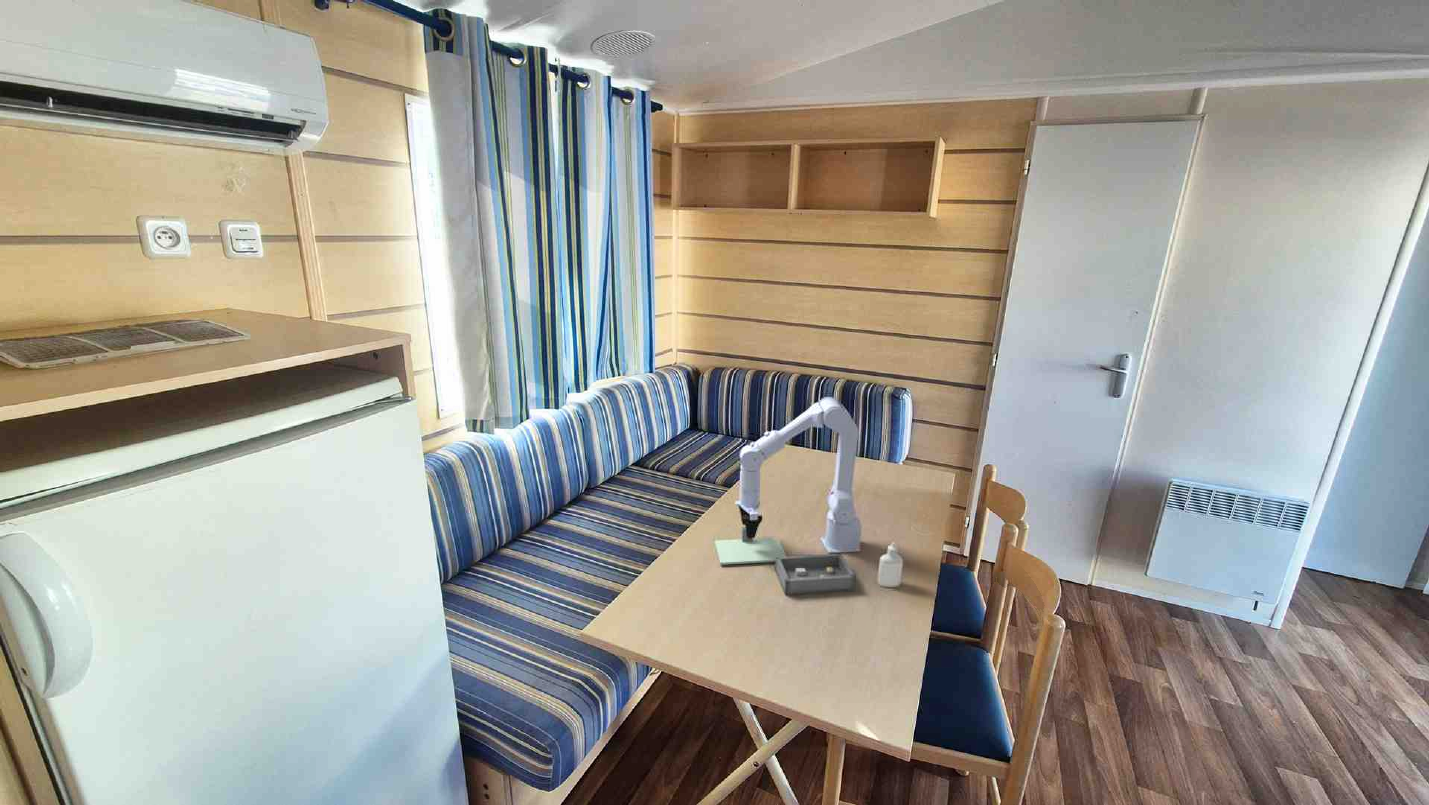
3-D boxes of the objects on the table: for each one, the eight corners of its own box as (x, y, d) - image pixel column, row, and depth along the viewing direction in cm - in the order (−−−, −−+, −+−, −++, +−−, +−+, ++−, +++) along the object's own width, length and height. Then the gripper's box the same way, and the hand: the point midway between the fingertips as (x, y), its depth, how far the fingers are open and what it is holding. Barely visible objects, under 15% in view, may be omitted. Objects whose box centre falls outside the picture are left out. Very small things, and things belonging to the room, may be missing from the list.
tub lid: (777, 540, 169) (778, 525, 167) (787, 562, 158) (788, 546, 156) (714, 544, 166) (715, 528, 165) (720, 566, 155) (720, 549, 154)
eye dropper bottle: (898, 591, 146) (903, 549, 143) (875, 585, 148) (880, 544, 145) (901, 582, 150) (906, 541, 146) (879, 576, 152) (883, 536, 149)
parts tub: (839, 566, 156) (840, 553, 155) (854, 590, 146) (855, 577, 145) (775, 570, 154) (775, 557, 153) (785, 595, 144) (785, 581, 142)
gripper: (731, 477, 167) (730, 519, 171) (740, 499, 154) (738, 544, 158) (755, 476, 168) (754, 518, 172) (765, 498, 155) (764, 543, 158)
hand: (748, 530), depth 165 cm, fingers open, 7 cm apart
